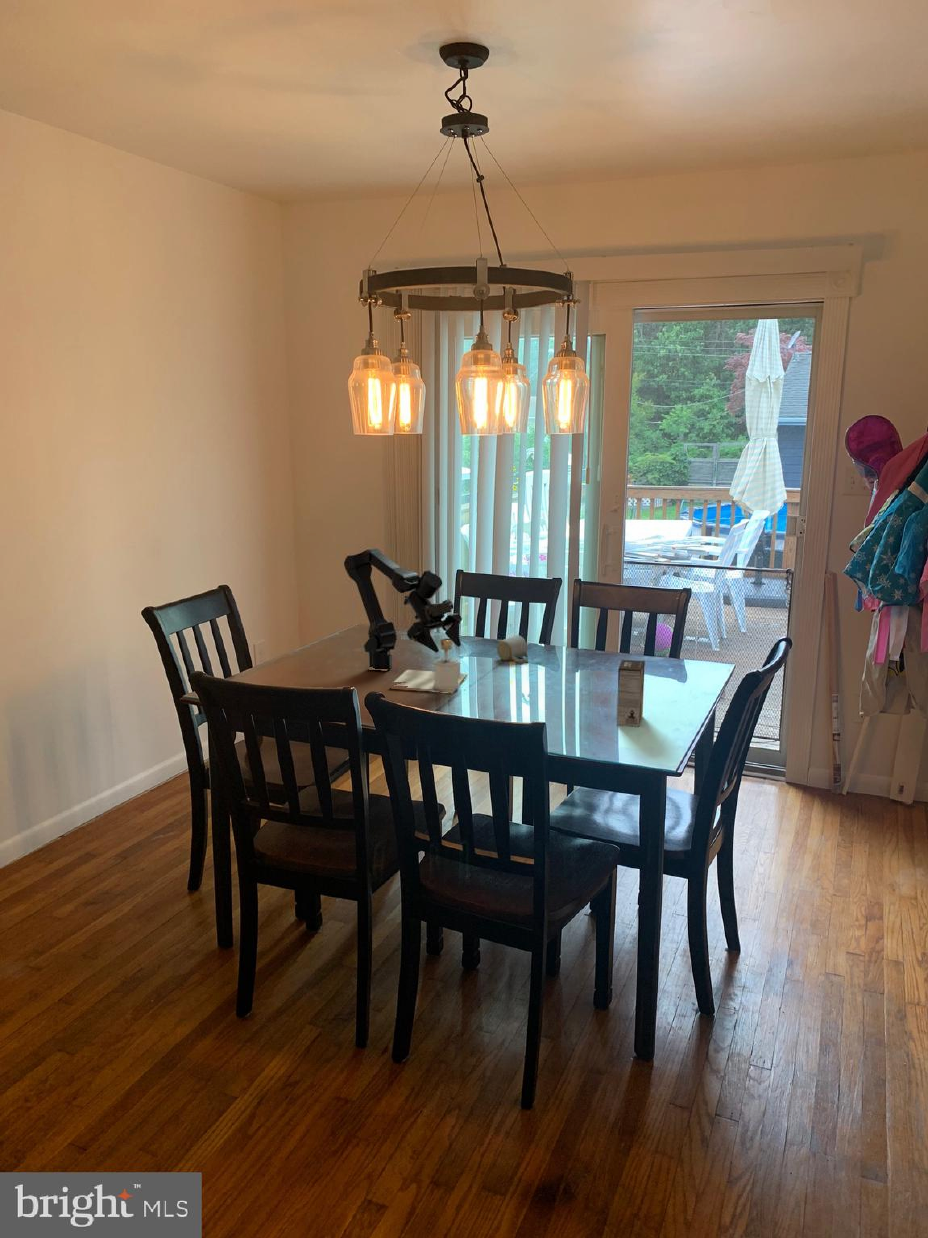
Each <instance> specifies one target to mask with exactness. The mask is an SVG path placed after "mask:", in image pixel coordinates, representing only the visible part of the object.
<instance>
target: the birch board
mask: <svg viewBox="0 0 928 1238" xmlns="http://www.w3.org/2000/svg"><path fill="white" fill-rule="evenodd" d="M466 677H467V678H468V673H461V672H460V678H459V679H458V683H459V685H460V684H461V683H462V682H463V683H464V681H465V680H466V679H467V678H466ZM465 678H466V679H465ZM464 679H465V680H464ZM393 682H406V683H401V684H397V685H396V686H408V687H407V688H413V689H420V690H434V691H439V692H448V693H453V692H454V690H456V691H457V689H453V690H439V689H436V688H434V685H433V684H434V683H435V671H431V670H417V669H416V670H415V669H407V670H404V672H403V673H402V674H401V675H400V676H398V677H397V678H396V679H395V680H394V681H393ZM463 683H462V684H463ZM462 684H461V685H462ZM461 685H460V686H461ZM394 686H395V685H394ZM454 693H455V692H454ZM454 693H453V694H454Z"/></svg>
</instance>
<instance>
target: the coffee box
mask: <svg viewBox="0 0 928 1238" xmlns="http://www.w3.org/2000/svg"><path fill="white" fill-rule="evenodd" d="M645 664H646V660H636V659H635V660H631V659H622V660H621V661H620V664H619V667H618V671H617V672H618V673H617V674H618V675H617V703H616V725H617V726H625V727H637V728H639V727H640V726H641V723H642V718H643V715H644V713H643V711H644V689H645V687H644V684H645V668H646V666H645Z"/></svg>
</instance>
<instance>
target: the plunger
mask: <svg viewBox="0 0 928 1238" xmlns="http://www.w3.org/2000/svg"><path fill="white" fill-rule="evenodd" d="M439 642H440V646H439V649H441V650H443V651H444V655H443V656H444V657H443V658H444V662H448V658H449V655H448V654H449V653H448V652H449V650H451V649H452V645H453V641H452V640H451V639H450V638H441V639H440V641H439Z"/></svg>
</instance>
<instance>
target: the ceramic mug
mask: <svg viewBox="0 0 928 1238" xmlns="http://www.w3.org/2000/svg"><path fill="white" fill-rule="evenodd" d="M496 652H497V654H498V657H499V658H500V659H501V660H502V661H505V662H507V661H509V662H510V661H512V660H513V661H514V662H515V663H518V664H526V663H527V662H528V660H529V654H528V644H527V642H526V640H525V639H524V637H522V636H521V635H518V634H516V635H513V636H511V637H508V638H504V639H503V640H501V641H500V642H498V644H497V646H496ZM524 657H525V658H524ZM521 658H524V659H521ZM525 662H526V663H525Z"/></svg>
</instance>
